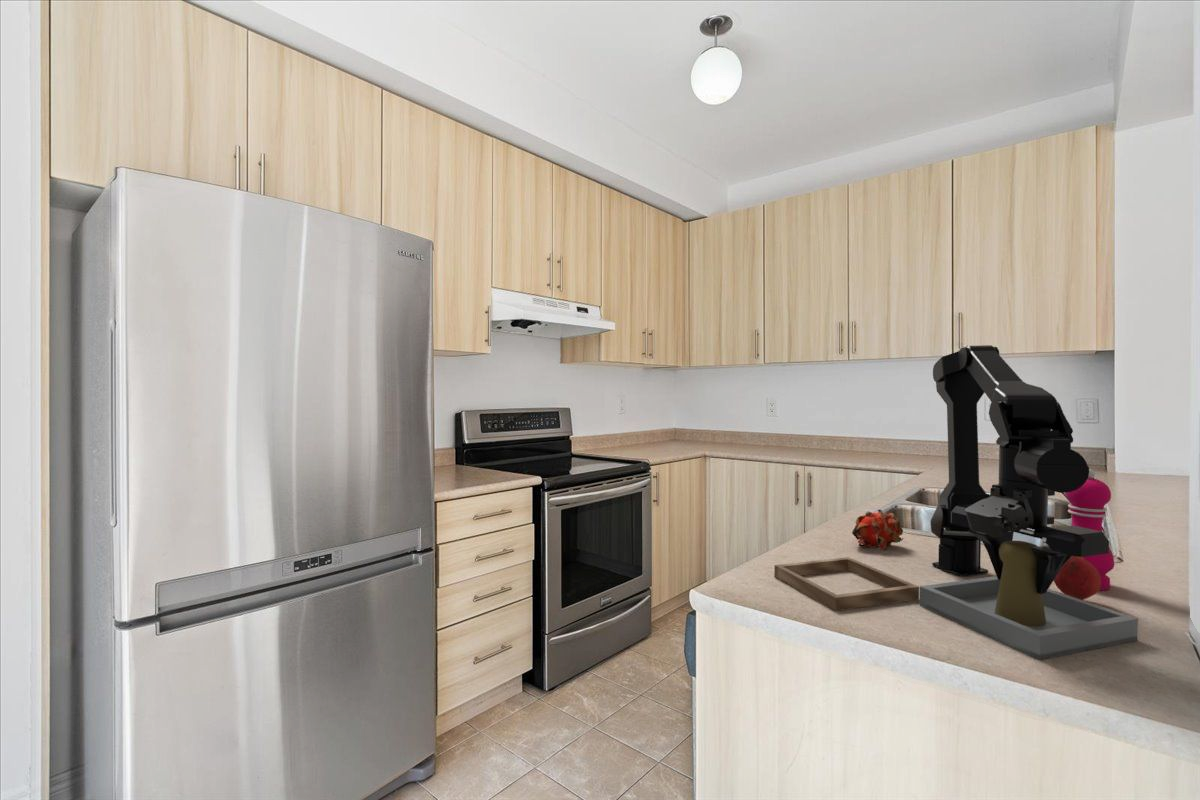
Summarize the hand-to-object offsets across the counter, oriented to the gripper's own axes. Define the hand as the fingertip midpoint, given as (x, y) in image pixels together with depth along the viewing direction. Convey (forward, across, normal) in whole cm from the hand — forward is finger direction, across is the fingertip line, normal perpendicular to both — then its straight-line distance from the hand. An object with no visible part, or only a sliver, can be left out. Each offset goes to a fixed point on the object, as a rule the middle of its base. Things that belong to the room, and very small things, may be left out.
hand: (1020, 586), depth 81 cm
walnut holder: (+5, -19, -15) cm, 25 cm away
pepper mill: (+5, -8, +26) cm, 28 cm away
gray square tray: (+5, 0, 0) cm, 5 cm away
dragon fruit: (+6, -36, +8) cm, 37 cm away
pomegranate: (+5, -3, +16) cm, 17 cm away
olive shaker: (+5, 0, 0) cm, 5 cm away
